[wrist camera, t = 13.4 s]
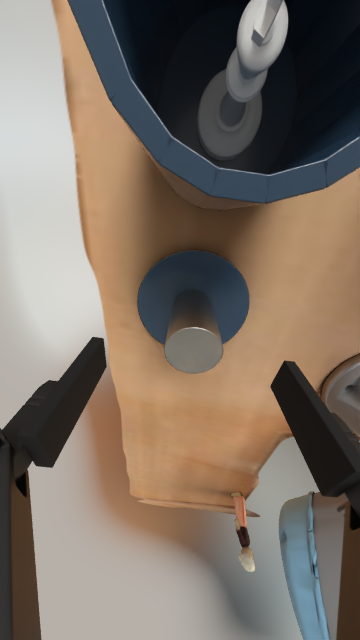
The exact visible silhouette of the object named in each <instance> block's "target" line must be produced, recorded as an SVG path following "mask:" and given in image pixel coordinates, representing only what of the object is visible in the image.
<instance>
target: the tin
mask: <svg viewBox="0 0 360 640" xmlns="http://www.w3.org/2000/svg"><path fill="white" fill-rule="evenodd" d="M250 1H251V0H68V3H69V5H70V7H71V10H72V12H73V15H74V17H75V19H76V22H77V24H78V26H79V29H80V31H81V34H82V36H83V38H84V41H85V43H86V46H87V48H88V50H89V53H90V55H91V57H92V60H93V62H94V65H95V67H96V69H97V72H98V74H99V77H100V79H101V81H102V84H103V86H104V88H105V91H106V93H107V96H108V98H109V100H110V101H111V103H112V105H113V106H114V108H115V109H116V111H117V112H118V113H119V115H120V116H121V118H122V119H123V121H124V122H125V123H126V125H127V126H128V128H129V129H130V130H131V132H132V133H133V135H134V136H135V137H136V139H137V140H138V142H139V143H140V145H141V146H142V147H143V149H144V150H145V152H146V153H147V154H148V156H149V157H150V159H151V160H152V161H153V163H154V164H155V166H156V167H157V169H158V170H159V171H160V173H161V174H162V175H163V177H164V178H165V179H166V181H167V182H168V183H169V184H170V186H171V187H172V188H173V190H174V191H175V192H176V193H177V194H178V195H179V196H180V197H182V198H184V199H185V200H187V201H188V202H190V203H192V204H193V205H195V206H197V207H199V208H206V209H213V210H227V209H234V208H241V207H248V206H255V205H262V204H268V203H272V202H275V201H279V200H283V199H287V198H291V197H295V196H299V195H303V194H307V193H310V192H314V191H318V190H322V189H324V188H327V187H329V186H330V185H332V184H334V183H335V182H337V181H338V180H340V179H342V178H343V177H345V176H347V175H348V174H350V173H351V172H353V171H355V170H356V169H358V168H359V167H360V0H284V2H285V4H286V7H287V11H288V30H287V36H286V39H285V43H284V45H283V48H282V50H281V52H280V54H279V56H278V57H277V59H276V60H275V61H274V63H273V64H272V65H271V66H270V67H269V68H268V71H267V76H266V80H265V83H264V85H263V87H262V89H261V91H260V92H261V96H262V116H261V121H260V124H259V128H258V130H257V133H256V135H255V137H254V139H253V141H252V143H251V144H250V145H249V147H248V148H247V149H246V150H245V151H244V152H243V153H242V154H241V155H239V156H238V157H236V158H234V159H232V160H227V161H221V160H217V159H214V158H212V157H211V156H209V155H208V154H207V153H206V152H205V150H204V149H203V147H202V145H201V143H200V141H199V138H198V134H197V127H196V118H197V110H198V106H199V103H200V100H201V97H202V95H203V92H204V90H205V88H206V87H207V85H208V84H209V82H210V81H211V80H212V79H213V77H214V76H216V75H217V74H218V73H219V72H221V71H223V70H225V69H227V64H228V61H229V59H230V56H231V54H232V52H233V51H234V49H235V48H236V47H237V32H238V26H239V23H240V19H241V17H242V14H243V12H244V10H245V8H246V6H247V5H248V3H249V2H250Z"/></svg>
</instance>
